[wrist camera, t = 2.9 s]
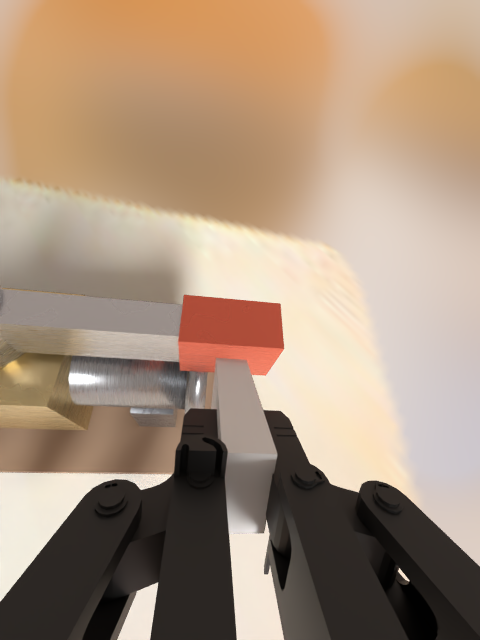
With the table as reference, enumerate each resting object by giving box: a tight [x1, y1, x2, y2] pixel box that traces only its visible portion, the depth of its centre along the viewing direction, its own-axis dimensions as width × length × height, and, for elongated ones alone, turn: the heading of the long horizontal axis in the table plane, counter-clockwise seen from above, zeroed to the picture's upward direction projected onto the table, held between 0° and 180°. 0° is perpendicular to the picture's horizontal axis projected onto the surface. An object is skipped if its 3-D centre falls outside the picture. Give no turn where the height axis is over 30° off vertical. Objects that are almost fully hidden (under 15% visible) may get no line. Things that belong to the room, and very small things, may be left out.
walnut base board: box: [0, 372, 214, 474], centre depth 26 cm, size 28×12×2 cm, turn 89°
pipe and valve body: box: [0, 288, 208, 430], centre depth 20 cm, size 23×7×10 cm, turn 89°
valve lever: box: [0, 286, 284, 375], centre depth 15 cm, size 17×4×4 cm, turn 89°
